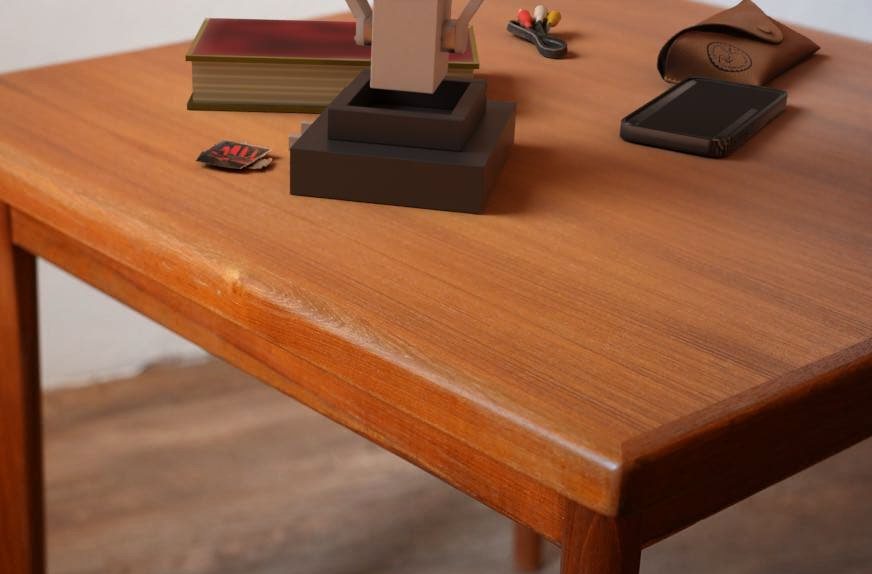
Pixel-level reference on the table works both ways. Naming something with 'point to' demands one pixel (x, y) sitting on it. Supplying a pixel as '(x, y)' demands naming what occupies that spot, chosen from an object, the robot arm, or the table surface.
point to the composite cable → (539, 31)
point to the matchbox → (235, 155)
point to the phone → (704, 116)
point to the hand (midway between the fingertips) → (410, 47)
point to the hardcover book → (284, 64)
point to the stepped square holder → (405, 146)
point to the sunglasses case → (734, 48)
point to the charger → (408, 45)
